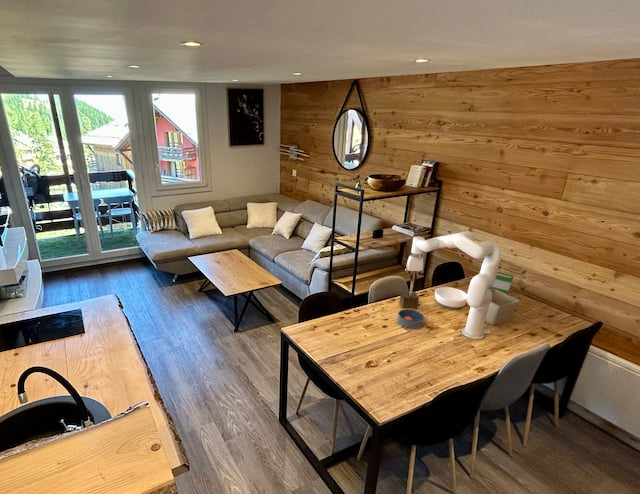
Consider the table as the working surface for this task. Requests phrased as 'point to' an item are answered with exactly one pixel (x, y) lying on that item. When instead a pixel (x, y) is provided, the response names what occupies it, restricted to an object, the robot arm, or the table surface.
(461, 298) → the bowl
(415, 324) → the mixing bowl
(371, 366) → the table surface
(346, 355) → the table surface
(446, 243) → the robot arm
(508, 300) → the flower pot
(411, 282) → the stick
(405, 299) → the stick holder
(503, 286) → the green and white carton
